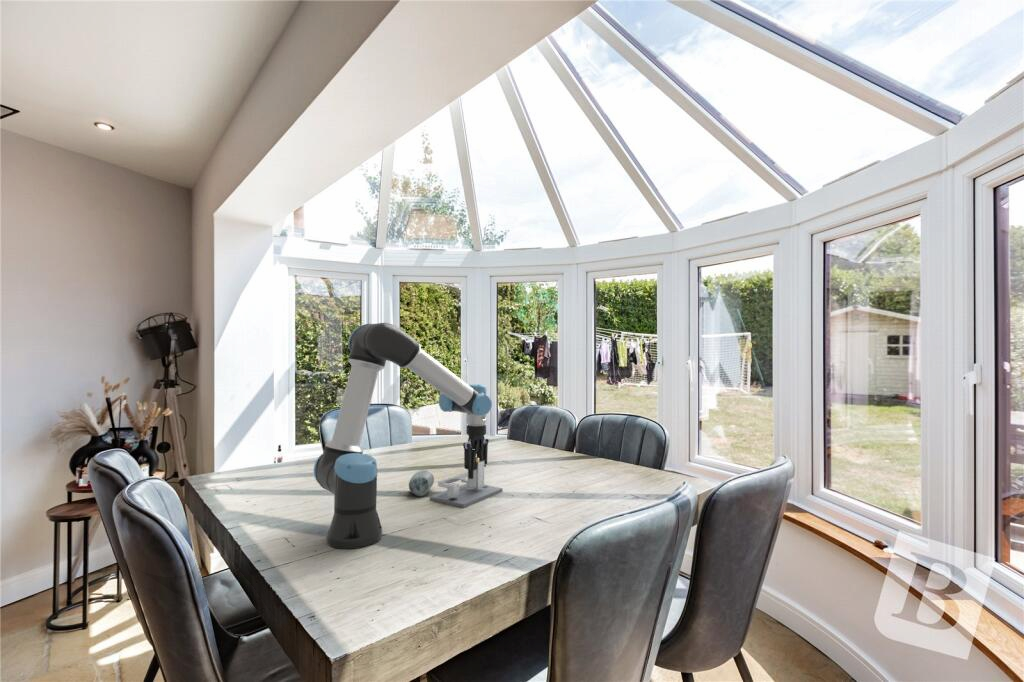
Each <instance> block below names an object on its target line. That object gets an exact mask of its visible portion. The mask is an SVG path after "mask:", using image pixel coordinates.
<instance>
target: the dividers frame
mask: <svg viewBox="0 0 1024 682" xmlns="http://www.w3.org/2000/svg"><path fill="white" fill-rule="evenodd" d="M462 479H468V471H466V472H464V473H460V474H457V475H455V476H451V477H449V478H446V479H442V480H440V481H437V487H439V488H444V489H446V491H447V496H449V497H452V499H454V497H456V496H459V486H460V484H459V483H456V482H458V481H461V480H462Z"/></svg>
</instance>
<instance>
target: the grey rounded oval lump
mask: <svg viewBox="0 0 1024 682" xmlns="http://www.w3.org/2000/svg"><path fill="white" fill-rule="evenodd" d="M434 482H435V476H434V474H433V472H431V471H430V470H428V469H427V470H426V469H421V470H419V471H418V470H417V472H415V473H414V474H413V475H412V476H411V478H410V479H409V483H408V489H409V491H410V492H411V493H412V494H413V495H414V496H417V497H424V496H425V495H427V493H428V492H429V491H430V490H431V488H432V486H433V485H434Z"/></svg>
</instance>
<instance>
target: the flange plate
mask: <svg viewBox="0 0 1024 682" xmlns="http://www.w3.org/2000/svg"><path fill="white" fill-rule="evenodd" d="M501 492H503V488H502V487H498V486H492V485H488V484H484V487H483V488H480V489H477V490H475V489H474V488H469V487H468V483H463V484H461V485H459V496H456V497H454V499H452V497H449V496H447V490H444V491H442V492H441V491H440V492H439V493H435V494H433V495H430V496H429V500H430V501H432V502H437V503H442V504H445V505H450V506H455V507H459V508H463V509H465V508H468V507H469V506H472V505H474V504H476V503H479V502H481V501H483V500H486V499H487V498H490V497H494V496H495V495H497V494H499V493H501Z"/></svg>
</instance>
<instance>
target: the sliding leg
mask: <svg viewBox="0 0 1024 682" xmlns="http://www.w3.org/2000/svg"><path fill="white" fill-rule="evenodd" d="M484 461H485V460H484ZM484 461H482V460H479V457H477V456H476V459H475V467H474V470H476V487H469V478H468V477H467V478H464V479H461V480H460V482H461V483H463V484H466V483H468V487H469V488H474V489H475V490H477V489H480V488H483V487H484V485H485V467H484ZM471 467H472V466H471Z"/></svg>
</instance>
